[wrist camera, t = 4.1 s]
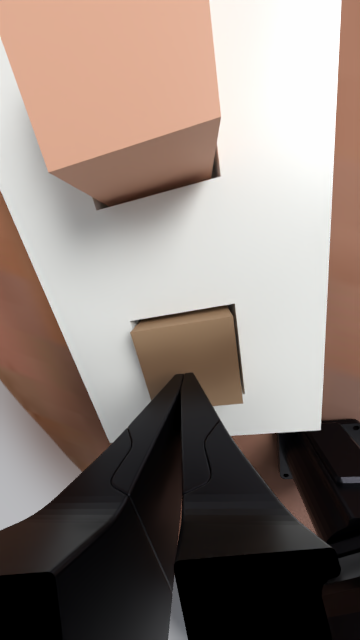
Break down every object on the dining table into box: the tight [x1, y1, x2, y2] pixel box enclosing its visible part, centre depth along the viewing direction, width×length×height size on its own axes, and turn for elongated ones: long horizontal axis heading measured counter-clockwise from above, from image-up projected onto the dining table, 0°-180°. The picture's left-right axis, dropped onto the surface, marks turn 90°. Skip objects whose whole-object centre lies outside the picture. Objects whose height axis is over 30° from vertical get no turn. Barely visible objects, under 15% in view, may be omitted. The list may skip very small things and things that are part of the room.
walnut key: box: [130, 305, 243, 406], centre depth 11 cm, size 5×5×4 cm
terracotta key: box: [0, 0, 221, 207], centre depth 6 cm, size 5×5×4 cm
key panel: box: [0, 0, 341, 443], centre depth 11 cm, size 23×14×4 cm, turn 11°
